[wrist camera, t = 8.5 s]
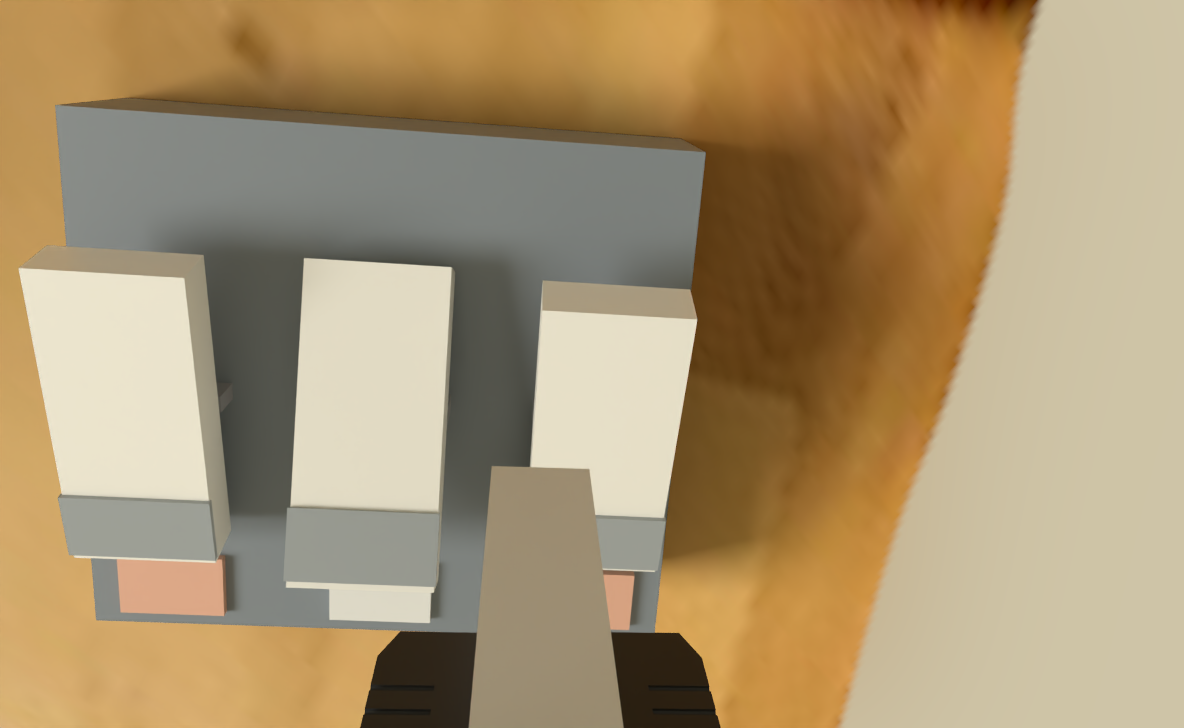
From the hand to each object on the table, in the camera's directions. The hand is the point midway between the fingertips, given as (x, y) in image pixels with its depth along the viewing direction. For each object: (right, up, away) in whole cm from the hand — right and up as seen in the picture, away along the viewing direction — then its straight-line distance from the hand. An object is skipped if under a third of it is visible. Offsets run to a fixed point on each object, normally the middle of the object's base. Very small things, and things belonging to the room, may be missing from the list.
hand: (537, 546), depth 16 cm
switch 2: (-5, +1, +13) cm, 14 cm away
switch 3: (+1, +1, +13) cm, 13 cm away
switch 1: (-12, +1, +12) cm, 17 cm away
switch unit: (-6, +3, +19) cm, 20 cm away
